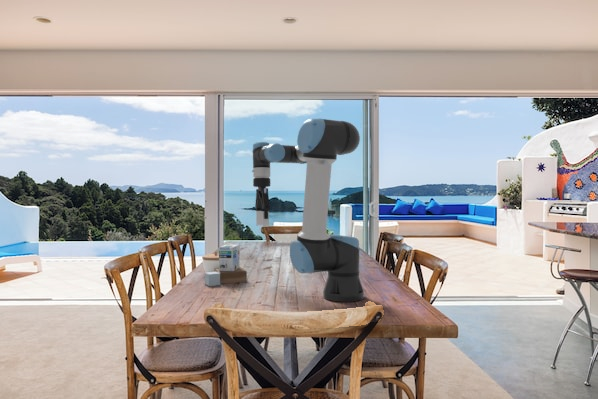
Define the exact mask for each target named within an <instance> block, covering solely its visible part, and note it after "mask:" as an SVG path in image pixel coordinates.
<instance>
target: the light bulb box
mask: <svg viewBox="0 0 598 399" xmlns="http://www.w3.org/2000/svg"><path fill="white" fill-rule="evenodd" d="M218 254H219V271H235V270H236V269H238V268H240V267H241V264H240V244H224V245H221V246H219V247H218Z"/></svg>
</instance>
